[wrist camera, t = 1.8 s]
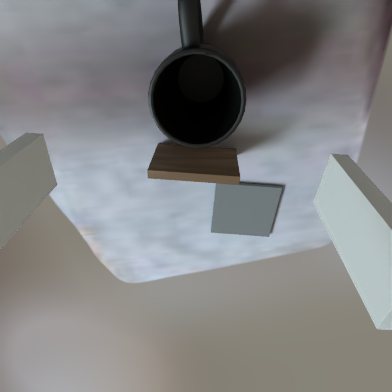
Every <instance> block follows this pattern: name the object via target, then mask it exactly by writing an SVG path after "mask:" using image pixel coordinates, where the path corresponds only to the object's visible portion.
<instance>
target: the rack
mask: <svg viewBox="0 0 392 392" xmlns="http://www.w3.org/2000/svg"><path fill="white" fill-rule="evenodd" d="M148 178H153V179H167V180H181V181H194V182H208V183H222V184H236V185H239V181H240V173H239V166H238V160H237V154H236V149H227V148H213V147H203V148H191V147H186V146H183V145H171V144H158V145H157V148H156V150H155V153H154V155H153V158H152V160H151V163H150V165H149V168H148Z"/></svg>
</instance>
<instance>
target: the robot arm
mask: <svg viewBox="0 0 392 392" xmlns="http://www.w3.org/2000/svg"><path fill="white" fill-rule="evenodd" d="M56 186H57V182H56V179H55V175H54V172H53V168H52V164H51V161H50V157H49V154H48V150H47V146H46V143H45V139H44V136H43V134H38V133H25V134H24V135H22V136H21V137H19V138H18V139H16V140H15V141H13V142H12V143H10V144H9V145H8V146H6V147H5V148H3V149H2V150H0V250H1V248H2V247H3V246H4V245H5V244H6V243H7V242H8V240H9V239H10V238H11V237H12V236H13V235H14V234H15V232H16V231H17V230H18V229H19V228H20V227H21V225H22V224H23V223H24V222H25V221H26V220H27V219H28V218H29V216H30V215H31V214H32V213H33V212H34V211H35V210H36V208H37V207H38V206H39V205H40V204H41V203H42V202H43V200H44V199H45V198H46V197H47V196H48V195H49V194H50V192H51V191H52V190H53V189H54V188H55V187H56ZM313 204H314V206H315V208H316V210H317V212H318V214H319V216H320V218H321V220H322V222H323V224H324V226H325V228H326V230H327V232H328V234H329V236H330V237H331V239H332V241H333V243H334V245H335V247H336V249H337V251H338V253H339V255H340V257H341V259H342V261H343V263H344V265H345V267H346V269H347V271H348V273H349V275H350V277H351V279H352V281H353V283H354V285H355V286H356V289H357V291H358V293H359V295H360V296H361V298H362V300H363V302H364V304H365V306H366V308H367V310H368V312H369V314H370V316H371V318H372V320H373V322H374V324H375V326H376V328H377V329H384V330H392V203H391V202H390V201H389V200H388V199H387V197H386V196H385V195H384V194H383V193H382V192H381V191H380V190H379V189H378V188H377V186H376V185H375V184H374V183H373V182H372V181H371V180H370V179H369V178H368V177H367V176H366V174H365V173H364V172H363V171H362V170H361V169H360V168H359V167H358V165H357V164H356V163H355V162H354V161H353V160H352V159H351V158H350V157H349V156H348V155H340V154H331V155H330V158H329V161H328V163H327V166H326V169H325V172H324V174H323V177H322V180H321V183H320V185H319V188H318V191H317V193H316V196H315V199H314V202H313Z"/></svg>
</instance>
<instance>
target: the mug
mask: <svg viewBox="0 0 392 392" xmlns="http://www.w3.org/2000/svg"><path fill="white" fill-rule="evenodd" d="M178 12H179V24H180V34H181V42H182V47H181V48H179V49H177V50H175V51H174V52H173V53H172V54H170V55H169V56H168V57H167V58H166V59H165V60H164V61H163V62H162V63H161V64H160V66H159V67H158V69H157V70H156V71H155V73H154V75H153V78H152V80H151V82H150V87H149V93H148V97H149V107H150V111H151V115H152V117H153V119H154V121H155V123H156V125H157V126H158V128H159V129H160V130H161V131H162V133H163V134H164V135H166V136H167V137H168V138H169V139H170V140H172V141H174V142H176V143H178V144H180V145H183V146H186V147H191V148H203V147H210V146H213V145H215V144H218V143H220V142H221V141H223V140H225V139H226V138H228V137H229V136H230V135H231V134H232V133H233V132H234V131H235V129H236V128H237V126H238V125H239V123H240V122H241V120H242V117H243V114H244V112H245V106H246V89H245V86H244V82H243V79H242V76H241V74H240V72H239V70H238V68H237V66H236V65H235V63H234V61H233V60H232V59H231V58H230V57H229V56H228V55H227V54H226V53H225V52H223V51H221V50H220V49H218V48H216V47H213V46H210V45H207V44H204V38H203V24H202V13H201V3H200V0H178Z"/></svg>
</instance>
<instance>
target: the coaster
mask: <svg viewBox="0 0 392 392" xmlns="http://www.w3.org/2000/svg"><path fill="white" fill-rule="evenodd" d="M281 191H282V186H277V185H263V184H249V183H239V185H236V184H222V183H216V190H215V199H214V208H213V217H212V226H211V232H212V233H226V234H239V235H253V236H266V237H269V234H270V231H271V227H272V223H273V220H274V216H275V213H276V209H277V205H278V202H279V198H280V195H281Z"/></svg>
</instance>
